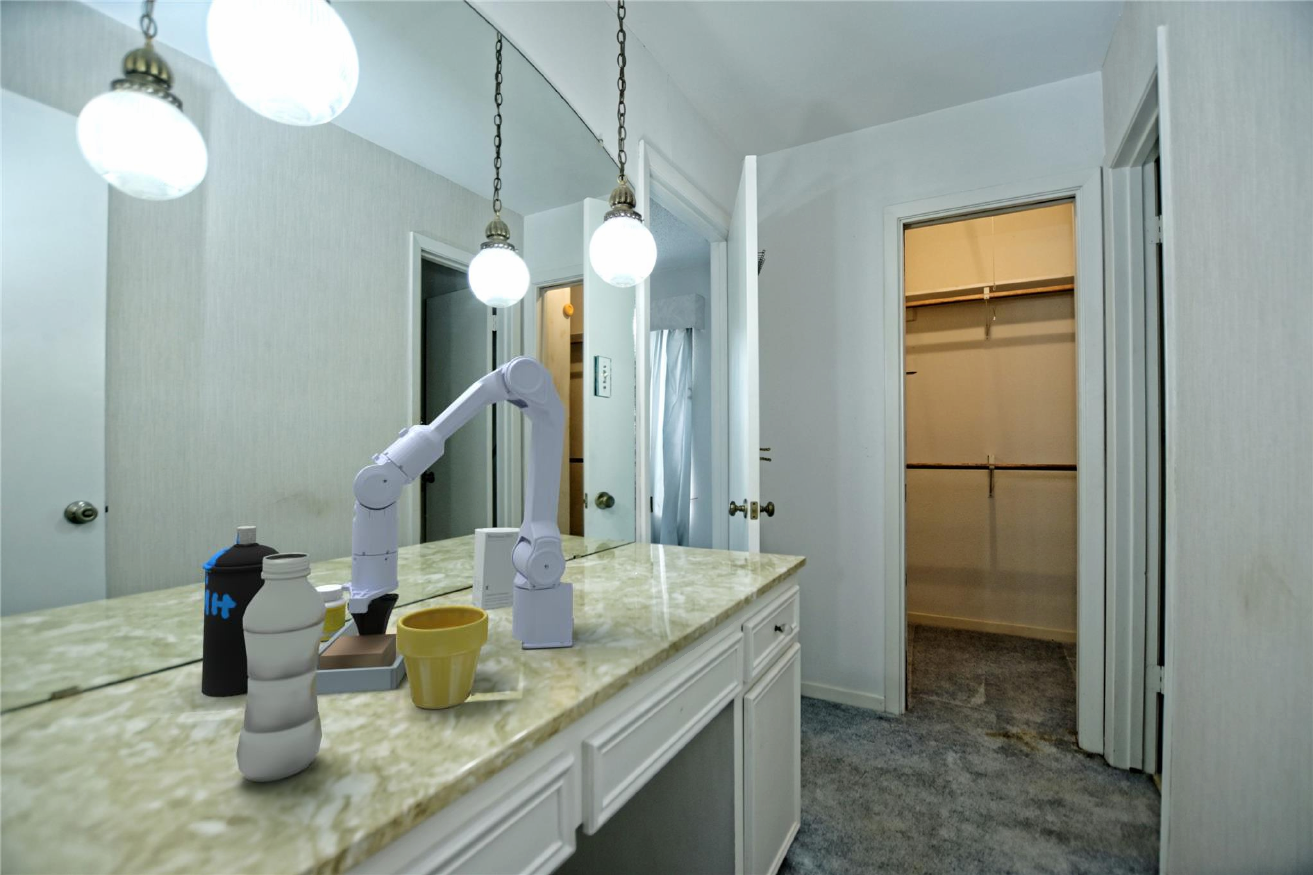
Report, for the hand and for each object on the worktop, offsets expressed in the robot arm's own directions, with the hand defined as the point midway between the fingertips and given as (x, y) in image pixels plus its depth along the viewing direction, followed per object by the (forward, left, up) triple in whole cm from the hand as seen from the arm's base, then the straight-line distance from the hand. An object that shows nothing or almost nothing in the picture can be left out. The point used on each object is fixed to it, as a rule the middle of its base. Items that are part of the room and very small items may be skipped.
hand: (372, 650), depth 78 cm
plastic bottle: (+1, +25, -2) cm, 26 cm away
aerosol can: (+13, +6, -2) cm, 15 cm away
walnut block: (0, +5, -1) cm, 5 cm away
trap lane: (-2, -1, -2) cm, 3 cm away
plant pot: (-11, +12, -2) cm, 16 cm away
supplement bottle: (+9, -10, -2) cm, 13 cm away
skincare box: (-15, -25, -2) cm, 29 cm away
